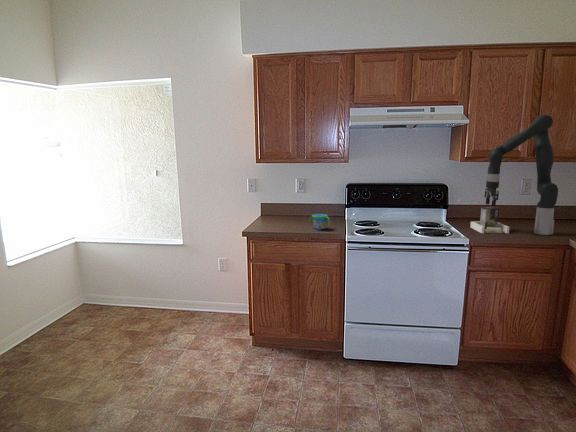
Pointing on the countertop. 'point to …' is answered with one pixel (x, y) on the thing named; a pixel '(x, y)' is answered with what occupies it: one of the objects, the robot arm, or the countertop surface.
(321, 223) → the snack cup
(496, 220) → the coffee box
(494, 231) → the offcut middle
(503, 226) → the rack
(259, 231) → the countertop surface
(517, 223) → the countertop surface
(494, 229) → the offcut top
